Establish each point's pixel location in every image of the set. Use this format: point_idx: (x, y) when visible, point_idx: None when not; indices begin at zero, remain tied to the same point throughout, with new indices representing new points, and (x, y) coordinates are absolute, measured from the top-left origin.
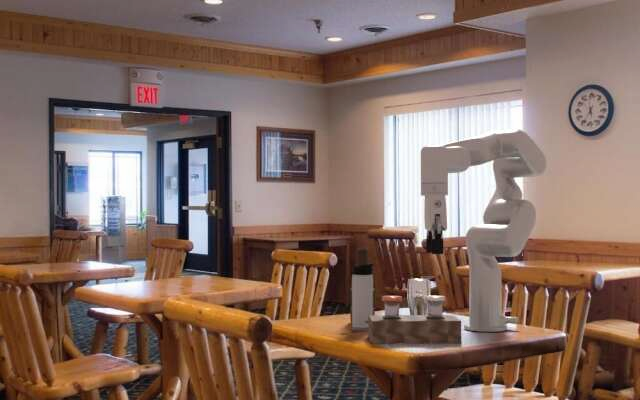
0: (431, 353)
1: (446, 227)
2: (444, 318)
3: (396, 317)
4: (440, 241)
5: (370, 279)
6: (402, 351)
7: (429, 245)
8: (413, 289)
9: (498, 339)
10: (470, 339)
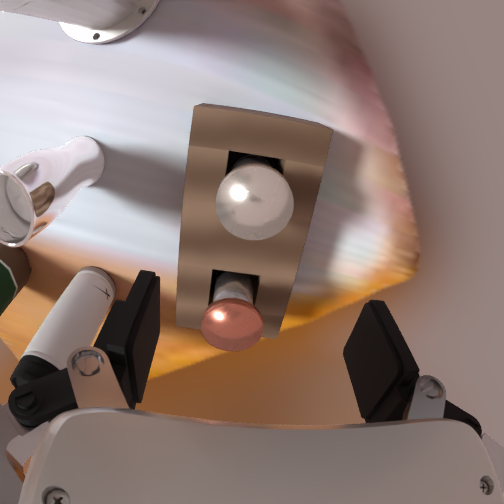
0: (405, 233)
1: (478, 436)
2: (263, 155)
3: (251, 288)
4: (418, 375)
5: (61, 357)
6: (368, 276)
7: (148, 353)
8: (48, 223)
9: (278, 8)
10: (264, 74)
